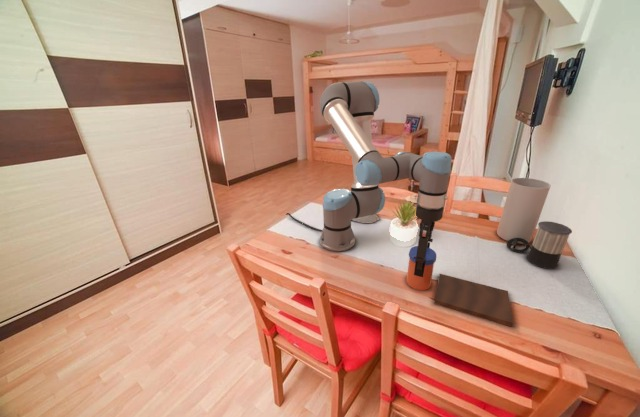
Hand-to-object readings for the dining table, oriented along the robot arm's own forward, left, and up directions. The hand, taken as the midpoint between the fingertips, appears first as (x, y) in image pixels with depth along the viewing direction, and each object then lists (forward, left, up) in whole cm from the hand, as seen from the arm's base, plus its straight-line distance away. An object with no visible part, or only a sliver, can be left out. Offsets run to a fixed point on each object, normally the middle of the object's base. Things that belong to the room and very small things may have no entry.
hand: (421, 266), depth 87 cm
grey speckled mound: (-38, +41, -7) cm, 56 cm away
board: (+16, -1, -7) cm, 17 cm away
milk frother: (+36, +34, -7) cm, 50 cm away
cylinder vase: (+32, +48, -7) cm, 58 cm away
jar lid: (0, 0, +5) cm, 5 cm away
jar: (0, 0, -7) cm, 7 cm away
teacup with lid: (-11, +54, -7) cm, 56 cm away
